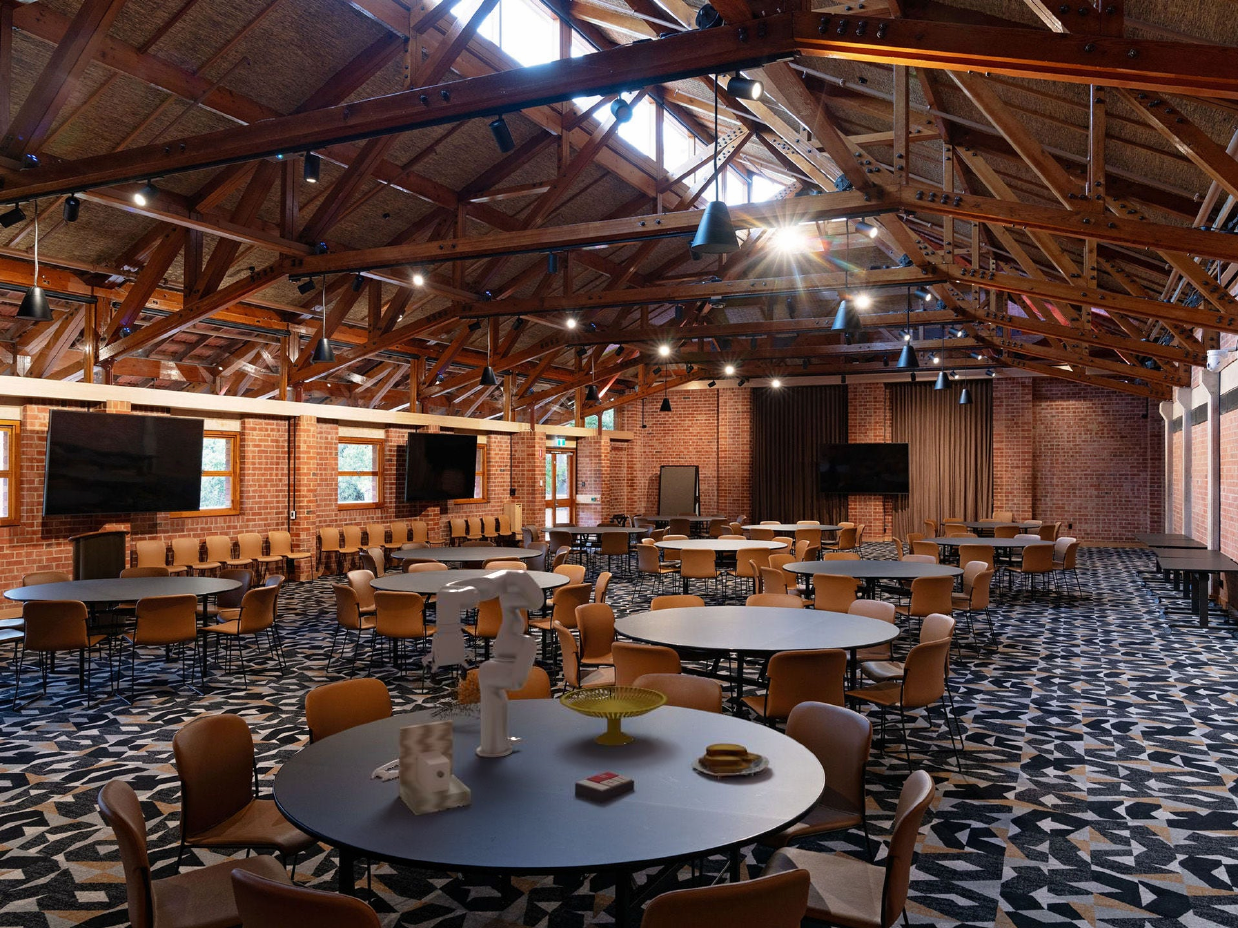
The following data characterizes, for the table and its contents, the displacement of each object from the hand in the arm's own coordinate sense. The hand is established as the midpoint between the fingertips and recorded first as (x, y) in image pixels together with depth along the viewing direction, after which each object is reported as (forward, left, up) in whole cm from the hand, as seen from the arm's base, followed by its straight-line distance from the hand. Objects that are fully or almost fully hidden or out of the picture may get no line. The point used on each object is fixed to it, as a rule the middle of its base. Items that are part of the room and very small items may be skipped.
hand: (448, 682), depth 257 cm
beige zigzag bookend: (+10, +17, -30) cm, 36 cm away
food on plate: (-82, +40, -30) cm, 96 cm away
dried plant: (-32, -54, -30) cm, 69 cm away
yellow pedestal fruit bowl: (-65, -7, -30) cm, 72 cm away
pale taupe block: (+10, +16, -26) cm, 32 cm away
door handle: (+9, -16, -30) cm, 36 cm away
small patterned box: (-36, +37, -31) cm, 60 cm away
